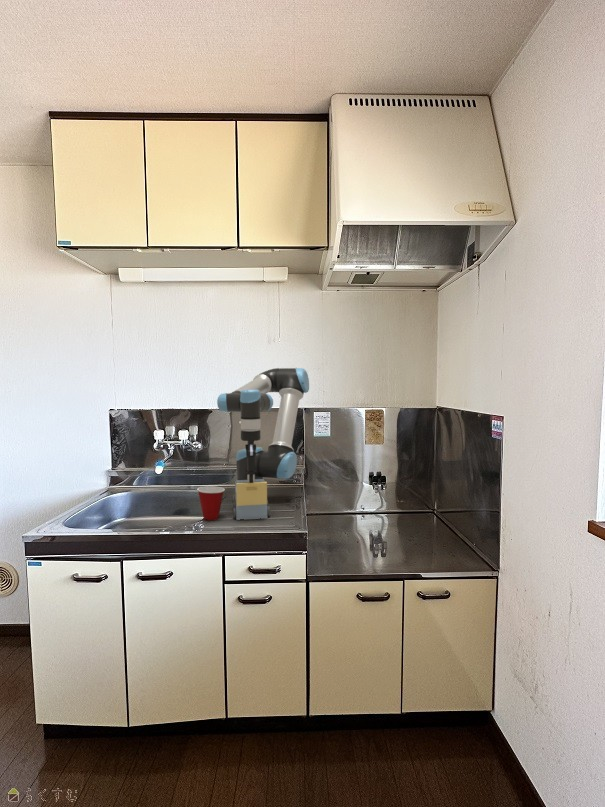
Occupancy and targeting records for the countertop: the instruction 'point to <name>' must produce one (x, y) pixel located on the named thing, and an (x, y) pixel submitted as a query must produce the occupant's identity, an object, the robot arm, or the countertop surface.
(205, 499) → the plastic cup
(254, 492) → the panel
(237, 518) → the box
